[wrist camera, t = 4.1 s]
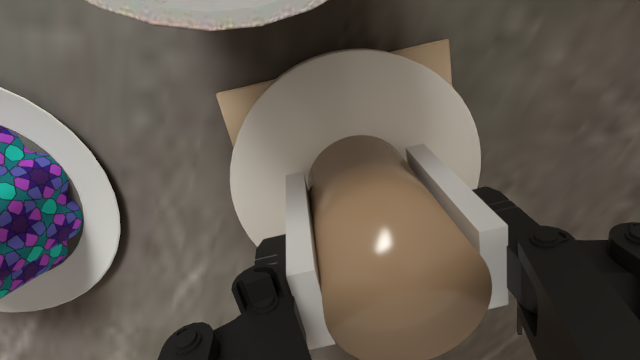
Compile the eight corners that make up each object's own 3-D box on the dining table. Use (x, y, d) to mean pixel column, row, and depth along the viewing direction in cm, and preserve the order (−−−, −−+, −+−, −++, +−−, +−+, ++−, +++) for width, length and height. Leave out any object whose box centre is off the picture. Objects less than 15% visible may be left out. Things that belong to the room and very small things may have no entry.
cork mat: (217, 92, 16) (215, 94, 16) (445, 38, 16) (448, 39, 16) (277, 275, 20) (277, 279, 20) (459, 233, 20) (462, 237, 20)
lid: (198, 82, 15) (107, 159, 8) (462, 20, 15) (651, 31, 7) (270, 288, 20) (260, 471, 12) (473, 242, 20) (598, 395, 12)
